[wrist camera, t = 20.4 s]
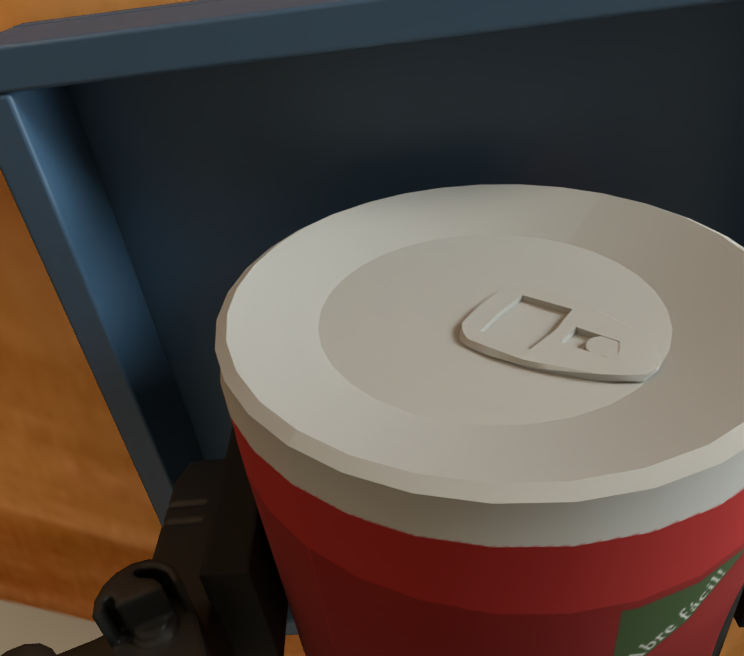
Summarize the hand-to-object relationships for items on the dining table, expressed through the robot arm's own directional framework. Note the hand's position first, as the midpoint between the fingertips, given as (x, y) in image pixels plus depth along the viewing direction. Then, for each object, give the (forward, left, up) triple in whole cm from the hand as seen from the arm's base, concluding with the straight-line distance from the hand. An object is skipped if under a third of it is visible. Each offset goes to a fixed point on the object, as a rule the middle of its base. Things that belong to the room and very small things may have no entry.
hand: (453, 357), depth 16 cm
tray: (0, 0, -1) cm, 1 cm away
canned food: (-4, +5, +5) cm, 8 cm away
